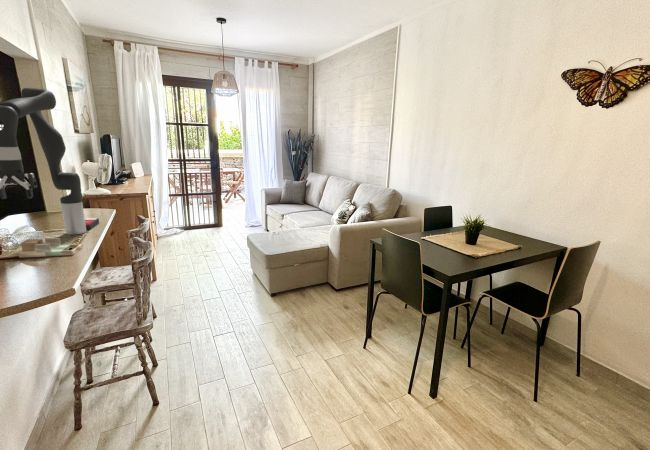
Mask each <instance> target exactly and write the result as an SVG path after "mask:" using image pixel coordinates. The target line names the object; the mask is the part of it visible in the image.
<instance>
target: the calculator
mask: <svg viewBox="0 0 650 450" xmlns="http://www.w3.org/2000/svg"><path fill="white" fill-rule="evenodd" d="M99 220H100V219H99V217H88V218H87V217H85V224H86V230H87V231H91V230H93V229H94V228H95V227H96V226H98V225H99V224H100V221H99Z"/></svg>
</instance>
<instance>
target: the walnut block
mask: <svg viewBox="0 0 650 450" xmlns="http://www.w3.org/2000/svg"><path fill="white" fill-rule="evenodd" d="M35 244H44V241H43V238H33V239H26V240H25V241H22V242H20V246H21V249H22V251H23V252H26V251H35V247H34V245H35ZM22 251H21V252H22Z"/></svg>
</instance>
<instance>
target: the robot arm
mask: <svg viewBox="0 0 650 450" xmlns="http://www.w3.org/2000/svg"><path fill="white" fill-rule="evenodd" d="M20 92H21V94H20V95H21V97H17V98H11V99H9V100H6V101H3V102H0V125H3V127H2V129H1V130H0V179H1V180H0V198H1V200H6V199H8V196H7V192H6V189H5V188H6V186H8V185H20V187H21V186H22V187H23V188H24V189H25V195H26V198H27V199H28V200H29V199H33V197H34V192H33V189H35V188H38V182H37V179H36V175H35V173H33V172H31V173H25V172H24V171H25V170H24V165H23V159H22V154H21V150H20V148H19V143H18V139H17V133H18V132H17V131H18V125H19V119H21V118H23V117H26V116H27V115H29V117H30V120H31V122H32V124H33V126H34V130H35V132H36V134H37V138H38V141H39V143H40V146H41V148H42V151H43V154H44V156H45V159H46V162H47V165H48V169H49V173H50V177H51V180H52V184H53V186H54V188H55V189H57V190H59V191H61V190H62V191H64V190H65V191H70V192H69V194H67V195H64V196H62V197H60V201H59V202H60V206H61V212H62V217H63V225H64V230H65V234H66V235H68V236H69V235H73V236H74V235H81V234H85V233H87V231H88V230H86V224H85V218H86V217H85V212H84V206H83V205H84V204H83V199H82V198H83V194H82V183H81V178H80V176H79V174H78V173H77V172H62V170H61V162H62V159H63V158H64V155H65V153H66V149H67V148H66V145H65V141H64V138H63V136H62V134H61V133H60V132H59V131H58V130H57V129H56V127H54V126H53V125H52V124H51V123H50V122H49V121H48V120H47V119H46V118H45V117H44V115H43V114H42V111H49V110H53V109H55V107H56V106H57V100H56V96H55V94H54V93H53V92H52V91H51V90H49V89H45V88H36V87H24V88H22V89H21V91H20ZM26 178H27V179H28V181H29V182H28V181H27V180H26Z"/></svg>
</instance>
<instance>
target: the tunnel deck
mask: <svg viewBox="0 0 650 450" xmlns="http://www.w3.org/2000/svg"><path fill="white" fill-rule="evenodd" d="M44 240H45V241H44V242H45V243H43V244H35V245H34V247H35V251H26V252H23V251H20V252H19V253H17V254H18V258H20V259H21V258H35V257H36V258H38V257H57V256H74V255H76V254H77V253H79V252H80V251H81V250H83V247H84V244H83V243H75V244H74V243H73V244H62V243H61V238H60V237H53V238H52V237H50V238H48V237H47V238H45V239H44ZM69 248H72V249H70V250H69Z"/></svg>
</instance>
